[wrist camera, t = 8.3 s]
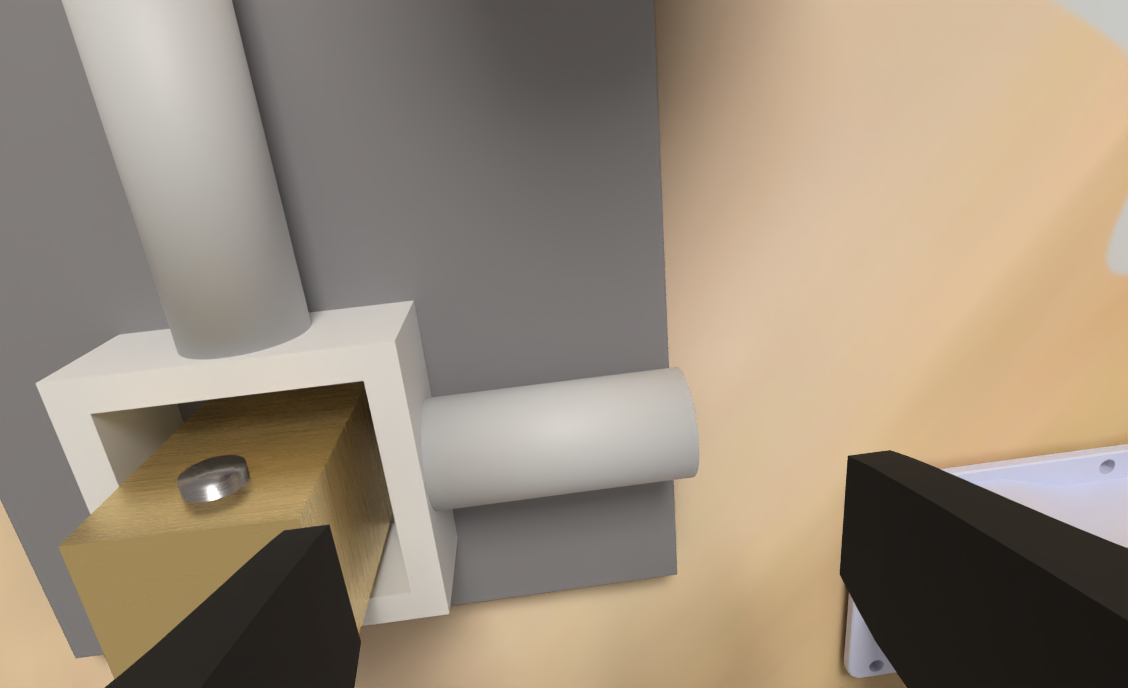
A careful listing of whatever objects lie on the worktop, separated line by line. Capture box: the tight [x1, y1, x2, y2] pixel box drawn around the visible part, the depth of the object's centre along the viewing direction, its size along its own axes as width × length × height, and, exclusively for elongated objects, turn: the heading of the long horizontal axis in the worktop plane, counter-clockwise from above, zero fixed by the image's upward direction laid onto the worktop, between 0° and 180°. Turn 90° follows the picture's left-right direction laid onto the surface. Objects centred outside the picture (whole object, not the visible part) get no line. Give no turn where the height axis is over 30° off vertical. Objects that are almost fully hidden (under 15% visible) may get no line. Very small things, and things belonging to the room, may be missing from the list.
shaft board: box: [0, 0, 699, 658], centre depth 15 cm, size 18×18×4 cm
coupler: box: [58, 382, 393, 679], centre depth 14 cm, size 4×5×6 cm
